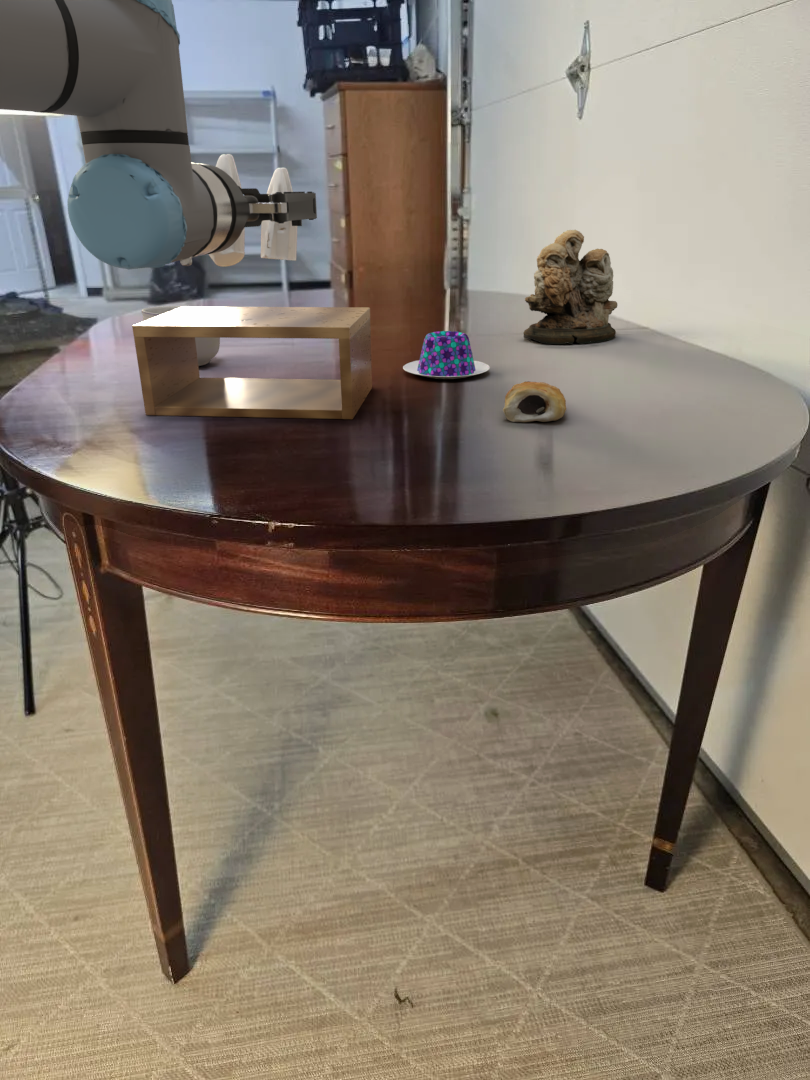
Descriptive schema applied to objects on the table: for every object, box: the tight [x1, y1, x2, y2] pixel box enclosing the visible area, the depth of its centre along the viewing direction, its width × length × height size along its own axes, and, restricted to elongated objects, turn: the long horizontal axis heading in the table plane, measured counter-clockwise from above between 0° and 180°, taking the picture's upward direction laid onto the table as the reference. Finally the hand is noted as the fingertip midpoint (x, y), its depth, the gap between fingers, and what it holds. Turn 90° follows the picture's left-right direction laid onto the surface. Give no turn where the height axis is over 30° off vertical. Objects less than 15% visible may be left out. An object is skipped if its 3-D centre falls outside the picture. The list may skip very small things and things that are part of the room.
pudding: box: [402, 330, 491, 380], centre depth 106 cm, size 12×12×5 cm
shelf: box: [131, 305, 373, 420], centre depth 92 cm, size 24×15×10 cm, turn 84°
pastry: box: [502, 380, 567, 423], centre depth 87 cm, size 9×7×4 cm
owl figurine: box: [523, 229, 618, 345], centre depth 127 cm, size 18×12×17 cm, turn 120°
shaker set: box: [207, 153, 298, 268], centre depth 84 cm, size 12×4×11 cm, turn 131°
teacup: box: [141, 305, 221, 367], centre depth 111 cm, size 14×11×8 cm
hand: (263, 204), depth 88 cm, fingers closed on shaker set, 8 cm apart
